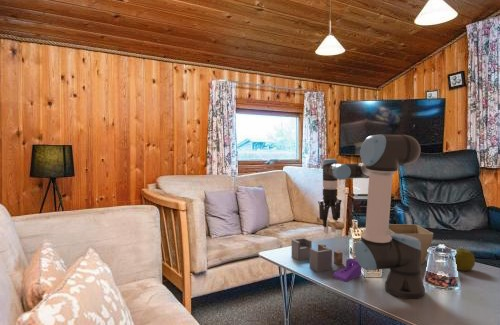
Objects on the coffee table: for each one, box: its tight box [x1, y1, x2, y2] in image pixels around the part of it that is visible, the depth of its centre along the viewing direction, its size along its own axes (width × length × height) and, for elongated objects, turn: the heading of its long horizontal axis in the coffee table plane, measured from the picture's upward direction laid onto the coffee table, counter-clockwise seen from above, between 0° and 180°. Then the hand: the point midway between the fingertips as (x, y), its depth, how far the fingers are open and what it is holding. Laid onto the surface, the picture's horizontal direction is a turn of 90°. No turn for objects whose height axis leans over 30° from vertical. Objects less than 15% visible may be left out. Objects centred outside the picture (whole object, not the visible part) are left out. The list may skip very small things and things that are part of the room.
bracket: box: [332, 257, 362, 282], centre depth 158 cm, size 12×7×7 cm, turn 129°
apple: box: [455, 248, 476, 272], centre depth 165 cm, size 10×10×11 cm
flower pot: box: [388, 223, 434, 265], centre depth 178 cm, size 19×19×17 cm
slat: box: [316, 216, 345, 230], centre depth 180 cm, size 18×4×2 cm, turn 24°
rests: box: [317, 243, 344, 266], centre depth 181 cm, size 17×3×6 cm, turn 24°
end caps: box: [291, 237, 333, 273], centre depth 176 cm, size 24×8×10 cm, turn 24°
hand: (329, 232), depth 180 cm, fingers closed on slat, 4 cm apart
